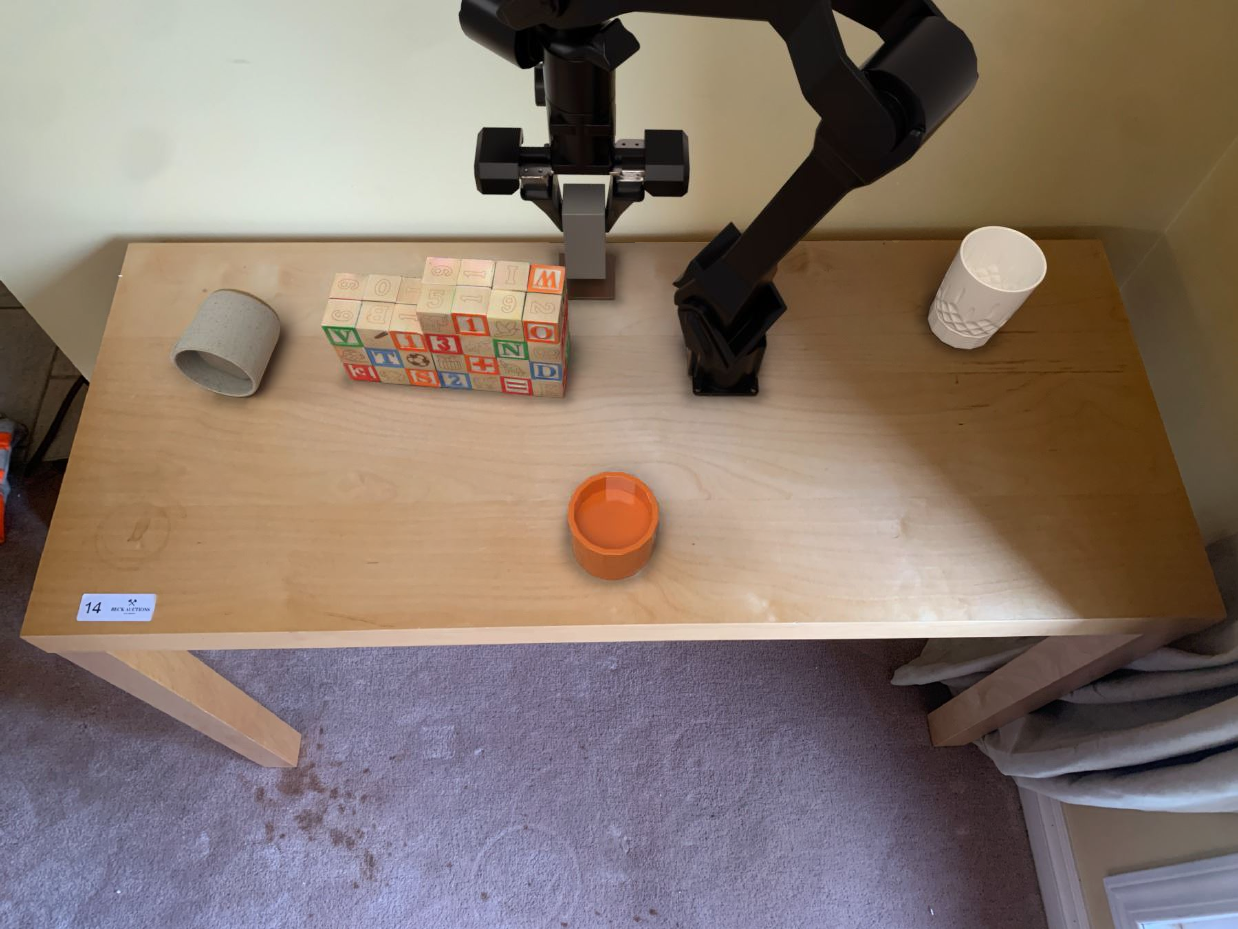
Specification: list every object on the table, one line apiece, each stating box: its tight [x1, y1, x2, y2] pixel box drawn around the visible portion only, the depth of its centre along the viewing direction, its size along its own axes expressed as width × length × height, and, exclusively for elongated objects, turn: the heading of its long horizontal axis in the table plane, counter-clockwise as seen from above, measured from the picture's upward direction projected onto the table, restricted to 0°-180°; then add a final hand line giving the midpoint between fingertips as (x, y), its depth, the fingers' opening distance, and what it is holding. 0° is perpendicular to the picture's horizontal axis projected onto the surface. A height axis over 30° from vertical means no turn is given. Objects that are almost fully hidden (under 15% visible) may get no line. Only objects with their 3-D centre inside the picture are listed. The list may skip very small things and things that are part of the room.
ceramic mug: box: [169, 288, 282, 398], centre depth 74 cm, size 11×8×8 cm
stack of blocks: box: [320, 256, 571, 399], centre depth 73 cm, size 21×6×12 cm, turn 85°
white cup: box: [927, 225, 1048, 350], centre depth 77 cm, size 8×8×10 cm
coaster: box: [558, 252, 616, 301], centre depth 83 cm, size 6×6×1 cm
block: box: [562, 182, 607, 279], centre depth 77 cm, size 4×4×9 cm
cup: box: [567, 471, 659, 581], centre depth 67 cm, size 7×7×6 cm
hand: (585, 229), depth 77 cm, fingers closed on block, 4 cm apart
